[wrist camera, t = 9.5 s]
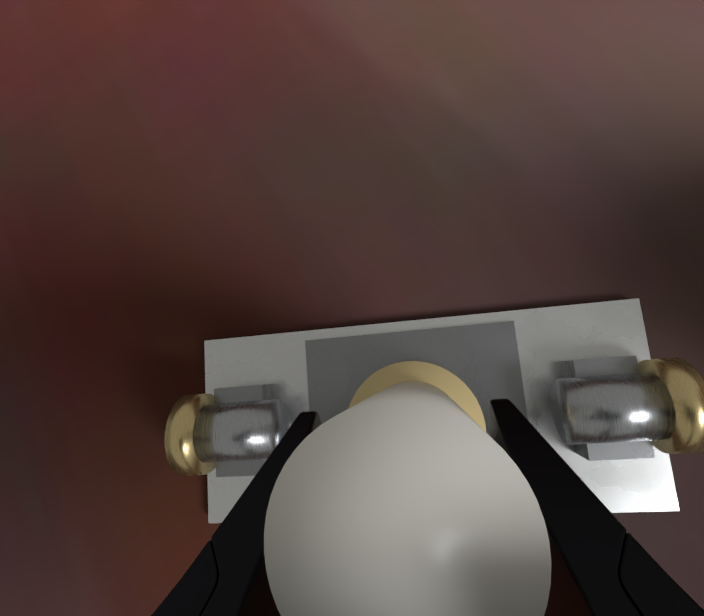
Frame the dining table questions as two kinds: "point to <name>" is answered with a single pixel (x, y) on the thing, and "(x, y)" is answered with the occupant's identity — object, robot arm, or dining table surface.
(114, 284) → the dining table surface
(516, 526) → the grey upright cylinder
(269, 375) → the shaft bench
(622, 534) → the robot arm
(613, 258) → the dining table surface
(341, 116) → the dining table surface
